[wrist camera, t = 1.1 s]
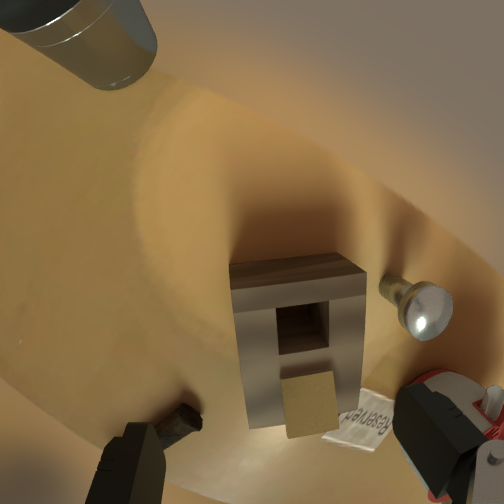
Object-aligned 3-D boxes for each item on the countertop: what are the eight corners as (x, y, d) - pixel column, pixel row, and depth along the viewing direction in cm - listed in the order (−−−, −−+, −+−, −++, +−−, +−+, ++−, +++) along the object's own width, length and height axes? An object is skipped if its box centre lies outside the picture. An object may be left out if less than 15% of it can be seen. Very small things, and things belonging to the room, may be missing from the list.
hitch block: (228, 264, 34) (230, 290, 27) (337, 252, 35) (366, 272, 27) (244, 386, 38) (249, 429, 30) (336, 372, 39) (357, 409, 31)
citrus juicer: (477, 346, 41) (556, 408, 22) (435, 428, 45) (489, 499, 25) (409, 344, 39) (497, 431, 20) (366, 436, 43) (415, 529, 23)
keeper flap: (279, 378, 29) (280, 379, 28) (329, 369, 29) (332, 370, 28) (286, 436, 27) (288, 438, 26) (336, 426, 28) (339, 428, 27)
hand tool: (183, 397, 38) (179, 419, 34) (204, 414, 39) (203, 437, 34) (104, 447, 40) (96, 467, 35) (123, 461, 41) (117, 481, 36)
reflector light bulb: (370, 266, 36) (412, 293, 27) (409, 260, 36) (456, 284, 27) (369, 310, 37) (406, 346, 28) (407, 302, 38) (449, 334, 28)
